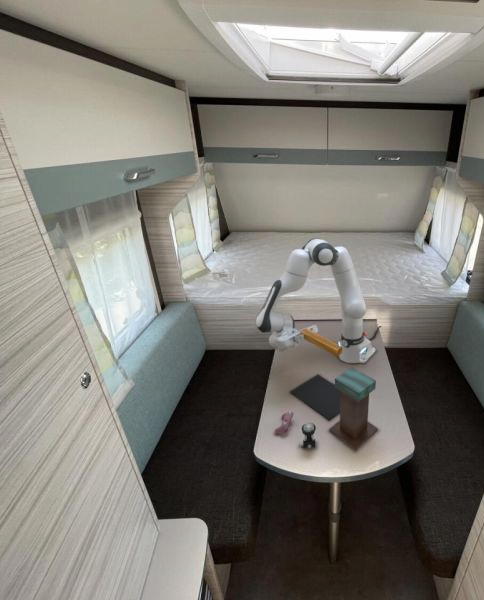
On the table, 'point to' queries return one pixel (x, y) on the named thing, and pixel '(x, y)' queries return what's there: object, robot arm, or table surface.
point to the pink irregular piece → (284, 422)
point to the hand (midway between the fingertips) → (308, 334)
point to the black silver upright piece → (308, 435)
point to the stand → (354, 408)
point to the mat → (320, 396)
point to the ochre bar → (322, 342)
